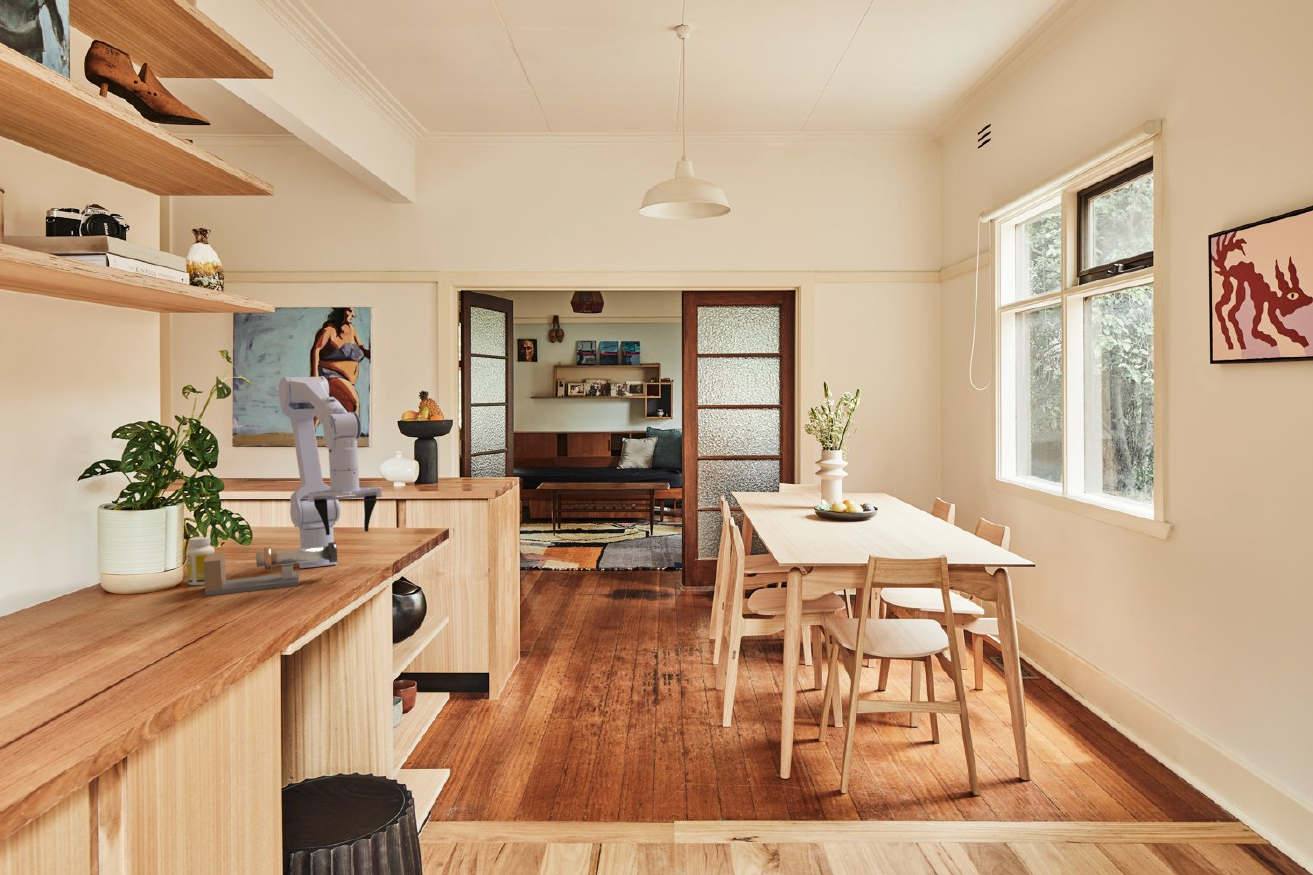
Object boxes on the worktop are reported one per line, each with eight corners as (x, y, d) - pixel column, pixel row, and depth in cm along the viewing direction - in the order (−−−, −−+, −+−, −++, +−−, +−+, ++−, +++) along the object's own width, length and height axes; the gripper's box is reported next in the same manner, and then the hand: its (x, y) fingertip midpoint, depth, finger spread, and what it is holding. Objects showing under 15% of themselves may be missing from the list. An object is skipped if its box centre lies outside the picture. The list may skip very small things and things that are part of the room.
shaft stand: (210, 586, 167) (208, 554, 166) (298, 577, 174) (296, 545, 173) (205, 596, 160) (203, 561, 159) (298, 585, 166) (296, 552, 166)
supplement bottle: (222, 579, 173) (219, 535, 172) (206, 586, 168) (203, 540, 167) (199, 579, 174) (196, 535, 173) (182, 585, 168) (179, 540, 168)
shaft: (258, 569, 169) (256, 546, 169) (337, 560, 175) (335, 538, 175) (256, 574, 164) (255, 550, 164) (337, 565, 170) (336, 542, 170)
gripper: (306, 473, 162) (310, 539, 163) (381, 469, 168) (384, 532, 169) (307, 470, 169) (310, 533, 170) (379, 466, 174) (382, 526, 175)
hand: (347, 532), depth 170 cm, fingers open, 7 cm apart
